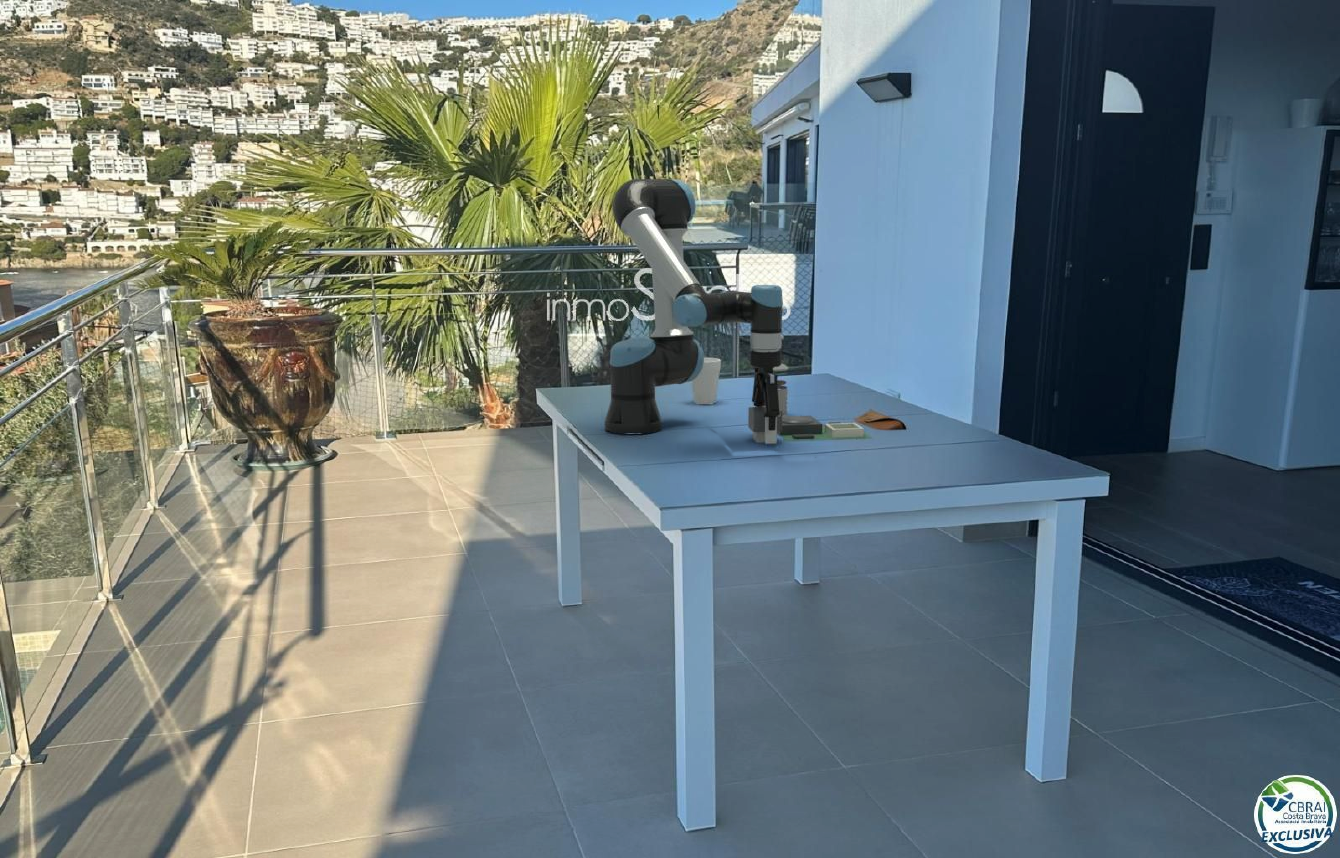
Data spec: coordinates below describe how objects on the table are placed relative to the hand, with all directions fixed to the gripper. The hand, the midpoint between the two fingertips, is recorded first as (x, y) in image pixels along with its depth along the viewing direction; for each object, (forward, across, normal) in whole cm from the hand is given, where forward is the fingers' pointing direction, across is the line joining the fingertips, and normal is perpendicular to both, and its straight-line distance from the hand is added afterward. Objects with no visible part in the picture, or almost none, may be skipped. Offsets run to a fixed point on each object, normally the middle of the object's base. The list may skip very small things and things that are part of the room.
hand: (764, 437), depth 252 cm
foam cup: (+2, +58, +5) cm, 58 cm away
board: (+2, +7, -16) cm, 18 cm away
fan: (+1, +10, -10) cm, 15 cm away
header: (+1, +3, -21) cm, 21 cm away
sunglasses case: (+3, +15, -33) cm, 37 cm away
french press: (+2, +36, -10) cm, 37 cm away
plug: (+2, 0, 0) cm, 2 cm away
